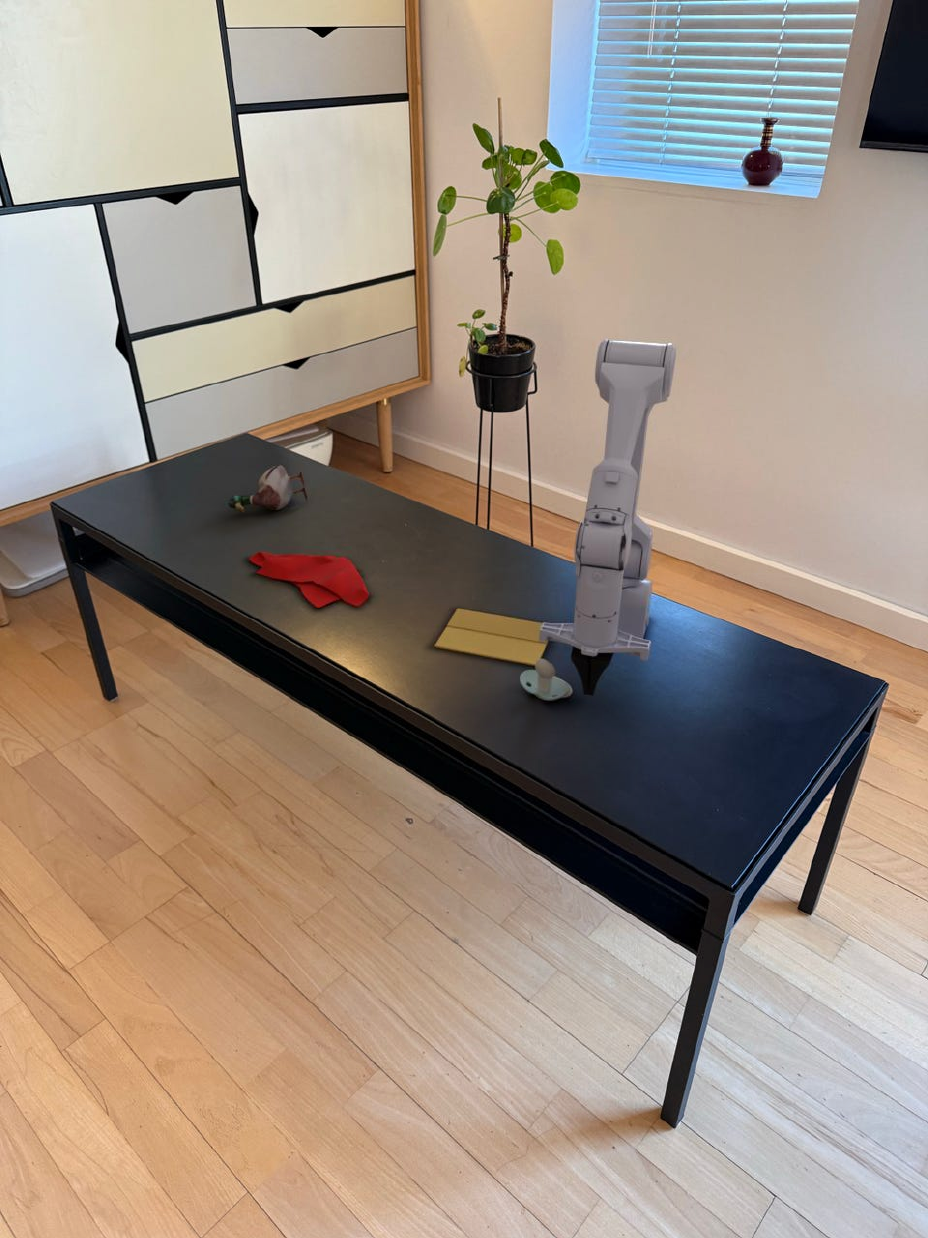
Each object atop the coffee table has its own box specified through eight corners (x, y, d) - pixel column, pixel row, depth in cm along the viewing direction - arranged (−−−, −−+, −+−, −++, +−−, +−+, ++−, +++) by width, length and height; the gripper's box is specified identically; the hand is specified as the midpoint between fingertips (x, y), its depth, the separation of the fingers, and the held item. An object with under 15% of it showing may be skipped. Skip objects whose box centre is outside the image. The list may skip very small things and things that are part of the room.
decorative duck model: (225, 495, 165) (218, 462, 177) (235, 530, 169) (227, 496, 181) (304, 478, 168) (292, 447, 180) (312, 513, 172) (300, 480, 184)
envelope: (554, 627, 138) (555, 624, 138) (537, 666, 129) (537, 663, 129) (458, 610, 143) (457, 607, 142) (434, 647, 134) (434, 644, 133)
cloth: (396, 588, 148) (395, 576, 147) (330, 619, 140) (329, 607, 139) (304, 538, 164) (303, 527, 163) (240, 563, 156) (238, 552, 155)
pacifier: (538, 673, 128) (514, 692, 124) (540, 636, 125) (516, 654, 121) (581, 692, 124) (558, 712, 120) (585, 655, 121) (561, 674, 117)
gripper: (535, 613, 113) (531, 697, 121) (649, 632, 109) (637, 718, 117) (548, 586, 119) (543, 668, 126) (657, 604, 115) (645, 688, 122)
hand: (589, 691), depth 122 cm, fingers closed
